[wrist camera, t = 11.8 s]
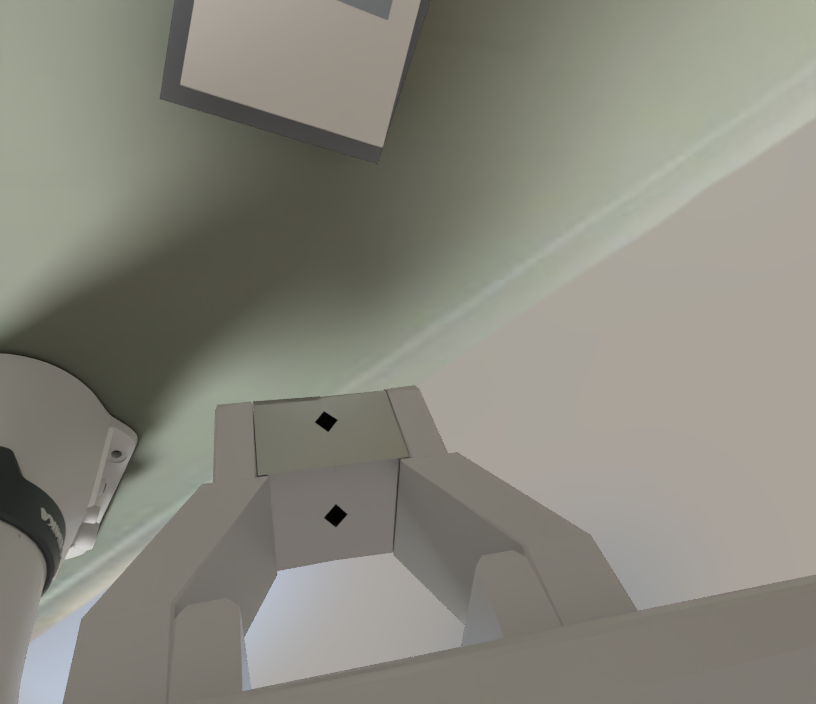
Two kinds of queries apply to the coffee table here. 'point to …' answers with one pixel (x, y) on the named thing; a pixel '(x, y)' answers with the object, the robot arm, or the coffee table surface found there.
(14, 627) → the robot arm
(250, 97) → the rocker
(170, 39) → the switch console
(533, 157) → the coffee table surface
